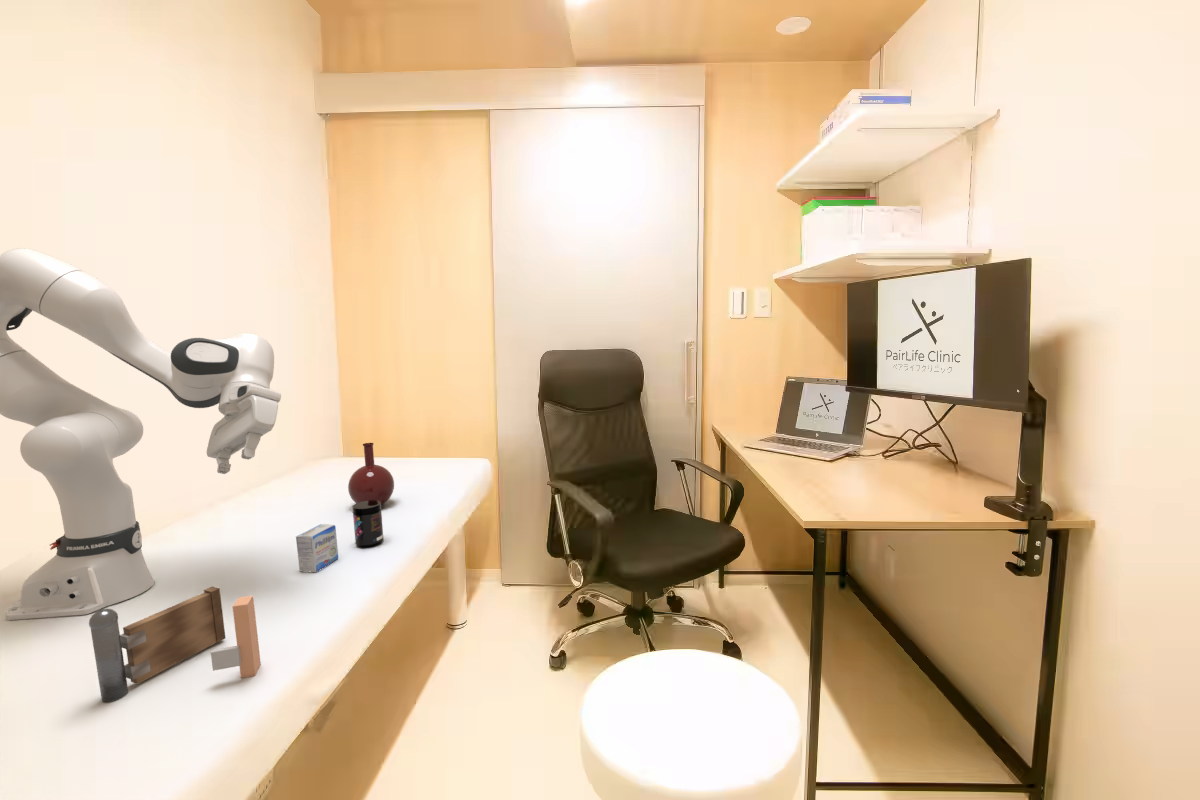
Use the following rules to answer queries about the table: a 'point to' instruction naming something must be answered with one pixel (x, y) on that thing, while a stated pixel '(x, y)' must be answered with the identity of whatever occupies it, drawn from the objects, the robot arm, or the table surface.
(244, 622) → the latch post
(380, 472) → the round-bottom flask
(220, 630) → the gate
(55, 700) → the table surface
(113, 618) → the hinge post
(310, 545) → the medicine box
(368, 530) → the supplement container
